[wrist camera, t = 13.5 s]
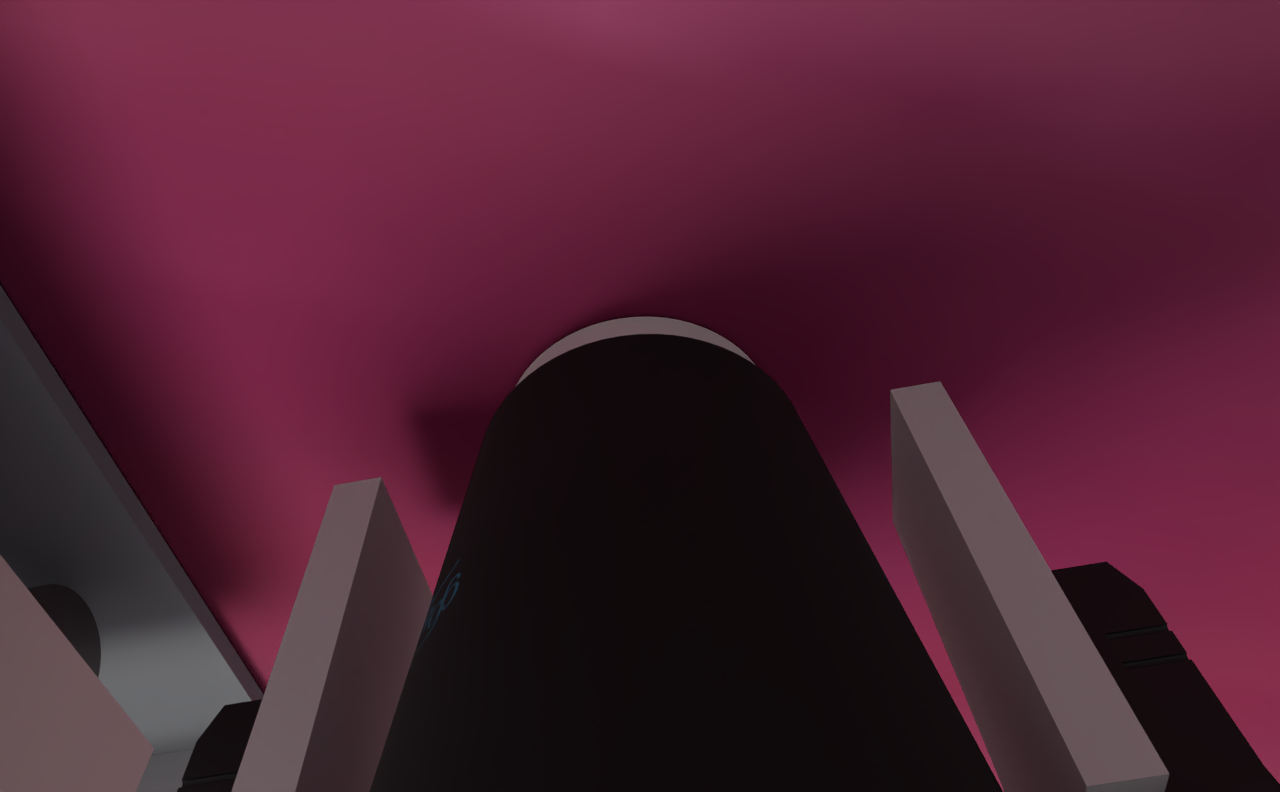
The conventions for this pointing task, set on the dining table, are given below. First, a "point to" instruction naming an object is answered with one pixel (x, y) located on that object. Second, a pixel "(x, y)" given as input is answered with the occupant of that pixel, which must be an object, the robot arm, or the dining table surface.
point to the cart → (59, 698)
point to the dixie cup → (665, 598)
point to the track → (107, 562)
